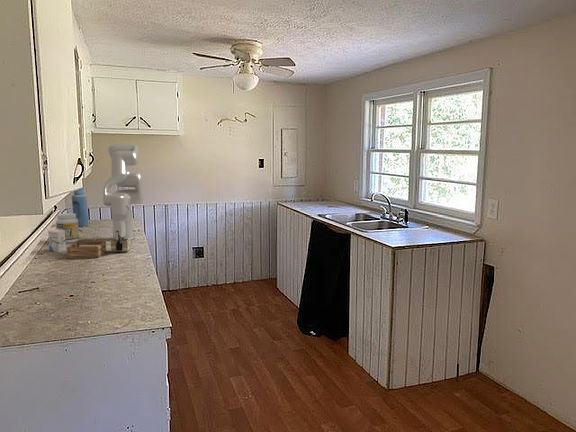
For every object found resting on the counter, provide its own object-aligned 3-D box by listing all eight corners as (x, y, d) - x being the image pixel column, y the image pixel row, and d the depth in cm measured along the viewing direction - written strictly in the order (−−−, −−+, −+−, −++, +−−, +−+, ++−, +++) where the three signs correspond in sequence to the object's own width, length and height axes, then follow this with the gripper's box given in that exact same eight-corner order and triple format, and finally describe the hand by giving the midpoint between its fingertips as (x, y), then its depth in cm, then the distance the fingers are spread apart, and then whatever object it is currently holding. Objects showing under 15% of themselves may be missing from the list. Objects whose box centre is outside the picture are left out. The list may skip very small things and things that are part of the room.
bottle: (91, 225, 330) (88, 185, 325) (81, 227, 321) (78, 186, 316) (81, 224, 333) (78, 184, 328) (70, 226, 324) (68, 185, 319)
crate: (77, 252, 248) (76, 241, 247) (106, 251, 249) (105, 241, 249) (67, 258, 233) (67, 247, 233) (98, 258, 235) (97, 246, 234)
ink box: (48, 250, 251) (47, 230, 249) (56, 248, 255) (55, 228, 253) (58, 252, 247) (57, 231, 245) (66, 250, 251) (65, 230, 249)
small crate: (114, 249, 252) (113, 238, 251) (130, 248, 253) (129, 238, 252) (111, 251, 246) (110, 241, 245) (127, 251, 247) (127, 241, 246)
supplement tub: (55, 243, 268) (53, 216, 265) (59, 239, 279) (57, 213, 276) (77, 242, 271) (75, 215, 268) (80, 238, 283) (78, 212, 280)
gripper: (116, 214, 254) (117, 245, 257) (107, 220, 237) (109, 252, 241) (129, 214, 255) (131, 245, 258) (122, 220, 238) (124, 252, 241)
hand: (120, 248), depth 249 cm, fingers closed on small crate, 6 cm apart
